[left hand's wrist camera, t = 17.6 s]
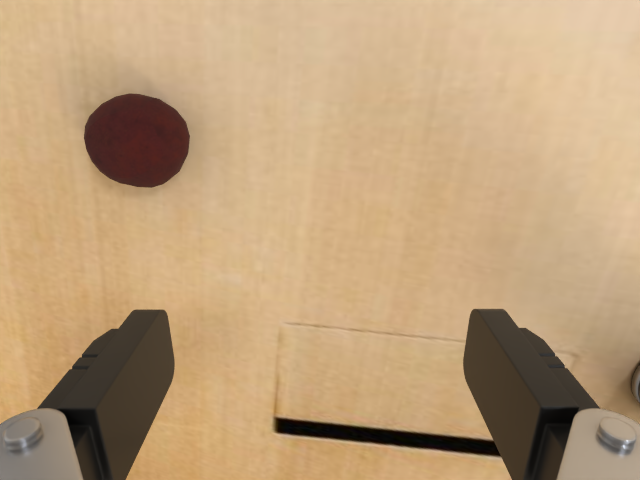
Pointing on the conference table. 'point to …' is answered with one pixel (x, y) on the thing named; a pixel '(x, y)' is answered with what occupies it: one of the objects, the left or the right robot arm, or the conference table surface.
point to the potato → (137, 140)
